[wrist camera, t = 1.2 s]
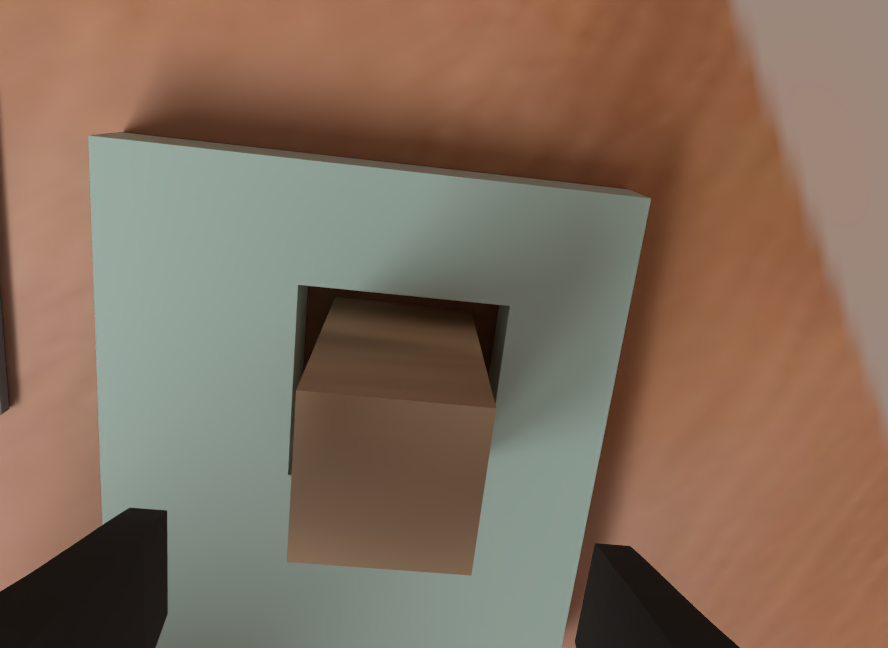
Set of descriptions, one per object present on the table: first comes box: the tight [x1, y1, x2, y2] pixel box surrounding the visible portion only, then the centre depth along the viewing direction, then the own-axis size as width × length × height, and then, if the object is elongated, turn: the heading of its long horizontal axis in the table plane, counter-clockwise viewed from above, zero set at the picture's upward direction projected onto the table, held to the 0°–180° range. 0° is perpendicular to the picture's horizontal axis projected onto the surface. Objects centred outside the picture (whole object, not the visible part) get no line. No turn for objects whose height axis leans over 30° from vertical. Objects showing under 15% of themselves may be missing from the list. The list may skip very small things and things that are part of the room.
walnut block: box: [287, 297, 496, 576], centre depth 18 cm, size 4×4×7 cm
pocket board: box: [88, 132, 651, 648], centre depth 21 cm, size 16×14×2 cm
